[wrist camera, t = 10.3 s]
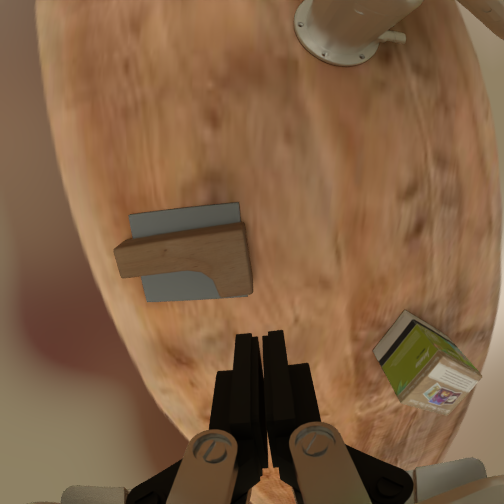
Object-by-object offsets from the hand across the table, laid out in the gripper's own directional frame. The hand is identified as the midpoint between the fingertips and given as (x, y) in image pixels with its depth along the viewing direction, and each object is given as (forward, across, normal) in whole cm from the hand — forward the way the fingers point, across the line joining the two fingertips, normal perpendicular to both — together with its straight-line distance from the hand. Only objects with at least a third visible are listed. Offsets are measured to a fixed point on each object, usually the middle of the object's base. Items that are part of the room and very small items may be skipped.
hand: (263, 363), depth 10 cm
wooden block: (+29, +2, +7) cm, 30 cm away
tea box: (+32, -27, +29) cm, 51 cm away
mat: (+32, +11, +7) cm, 34 cm away
